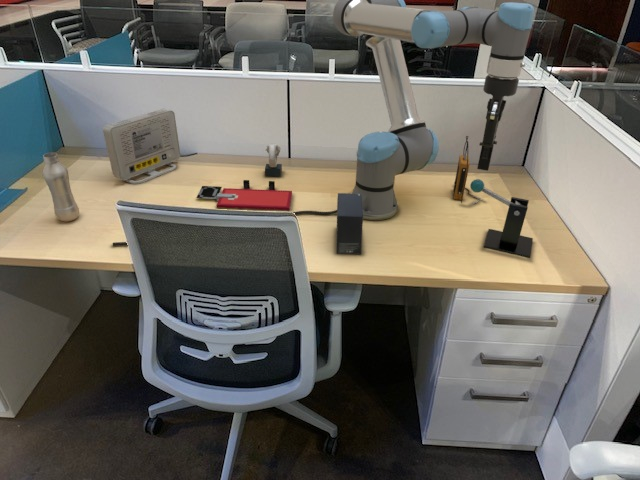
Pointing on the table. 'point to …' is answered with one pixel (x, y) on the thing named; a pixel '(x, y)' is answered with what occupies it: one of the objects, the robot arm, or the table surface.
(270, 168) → the white figurine
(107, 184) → the table surface
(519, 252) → the lever base
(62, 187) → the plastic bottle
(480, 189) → the ball knob joystick
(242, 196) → the red board with handle
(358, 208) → the small box
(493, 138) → the robot arm
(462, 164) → the multimeter
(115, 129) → the network device
